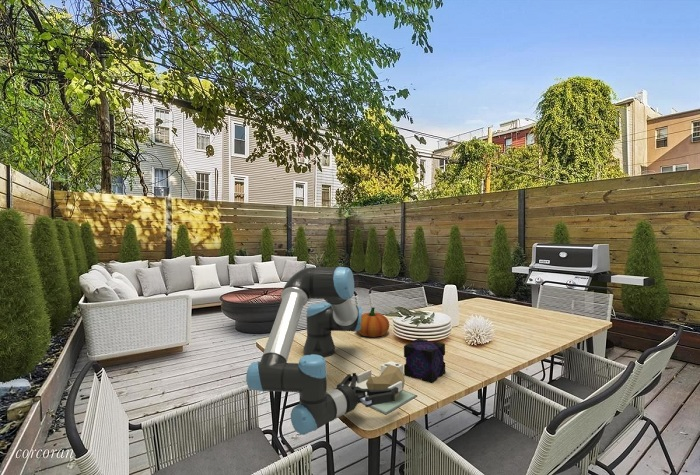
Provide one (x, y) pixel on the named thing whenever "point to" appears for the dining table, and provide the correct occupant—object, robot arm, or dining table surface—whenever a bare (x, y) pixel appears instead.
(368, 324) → the pumpkin
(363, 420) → the dining table surface
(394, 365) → the die
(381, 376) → the low-poly potato
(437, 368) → the energy cube
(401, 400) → the game board
